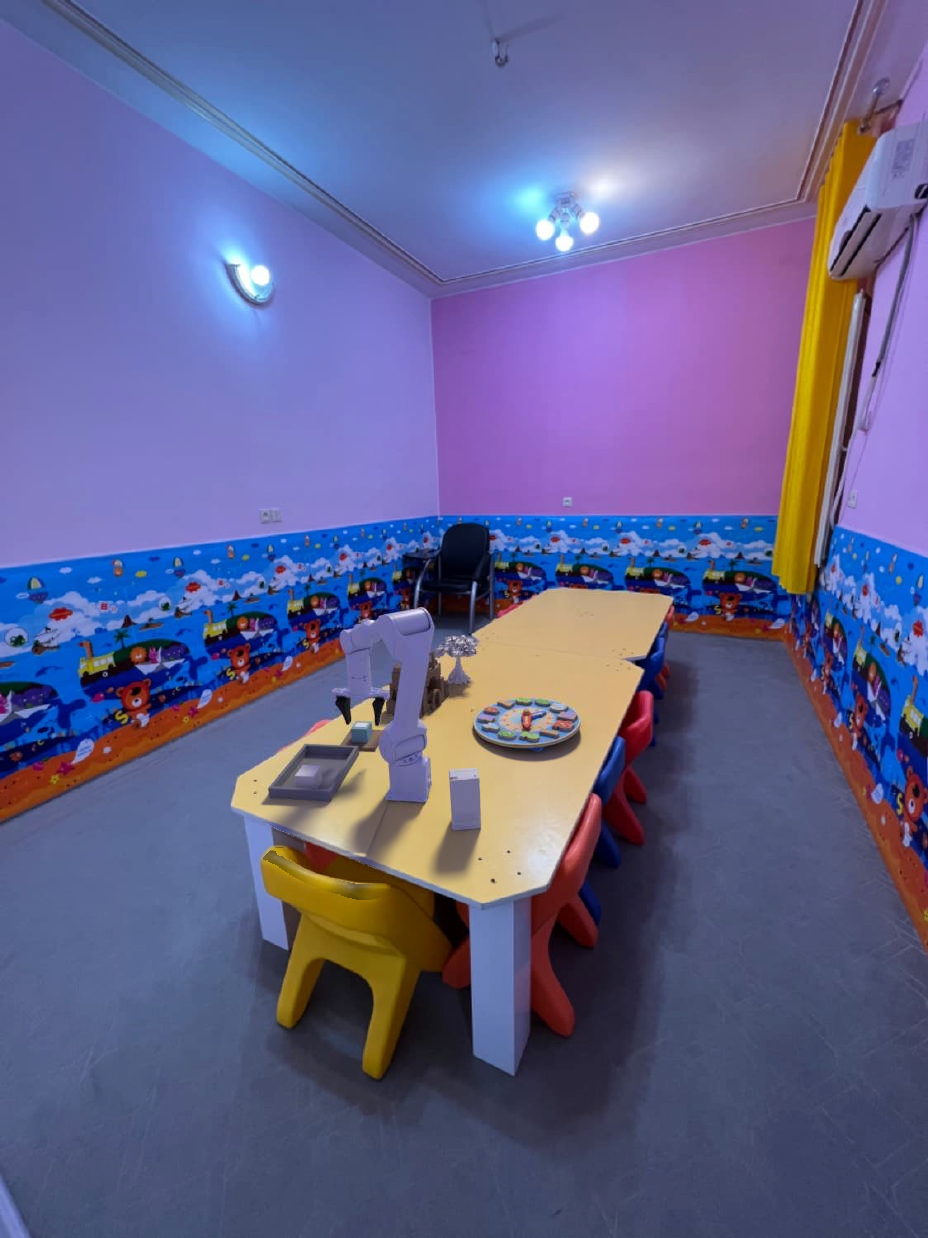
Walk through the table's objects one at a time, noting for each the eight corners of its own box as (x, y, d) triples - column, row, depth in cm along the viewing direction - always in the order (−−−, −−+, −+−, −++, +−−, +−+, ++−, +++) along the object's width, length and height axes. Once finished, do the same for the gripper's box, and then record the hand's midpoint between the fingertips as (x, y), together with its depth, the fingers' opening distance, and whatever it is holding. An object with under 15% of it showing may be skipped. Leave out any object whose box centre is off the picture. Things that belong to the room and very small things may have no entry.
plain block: (322, 780, 117) (321, 765, 115) (315, 791, 112) (313, 776, 111) (304, 779, 117) (303, 764, 116) (296, 790, 113) (294, 775, 112)
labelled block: (372, 734, 136) (371, 721, 135) (367, 742, 132) (366, 729, 131) (357, 734, 137) (355, 720, 136) (351, 742, 132) (350, 728, 131)
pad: (385, 733, 139) (385, 730, 139) (375, 752, 129) (375, 748, 129) (351, 732, 140) (351, 728, 140) (339, 750, 130) (338, 746, 130)
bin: (359, 756, 128) (358, 746, 127) (331, 803, 109) (330, 791, 108) (306, 753, 129) (304, 743, 128) (269, 799, 111) (268, 788, 110)
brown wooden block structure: (418, 687, 171) (416, 636, 166) (455, 694, 164) (453, 642, 159) (380, 712, 152) (376, 656, 147) (419, 722, 146) (416, 664, 141)
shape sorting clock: (507, 697, 162) (507, 680, 160) (596, 721, 145) (597, 702, 143) (452, 736, 138) (452, 716, 136) (551, 769, 121) (551, 748, 119)
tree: (473, 668, 187) (473, 627, 182) (490, 684, 172) (489, 639, 168) (428, 675, 181) (426, 633, 176) (441, 692, 166) (440, 646, 162)
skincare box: (478, 815, 104) (478, 765, 101) (481, 830, 100) (481, 778, 96) (450, 818, 103) (448, 768, 100) (451, 832, 99) (450, 780, 96)
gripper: (391, 669, 125) (394, 717, 128) (337, 667, 126) (341, 715, 130) (384, 679, 118) (387, 730, 121) (326, 678, 119) (331, 728, 123)
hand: (363, 723), depth 125 cm, fingers open, 7 cm apart
